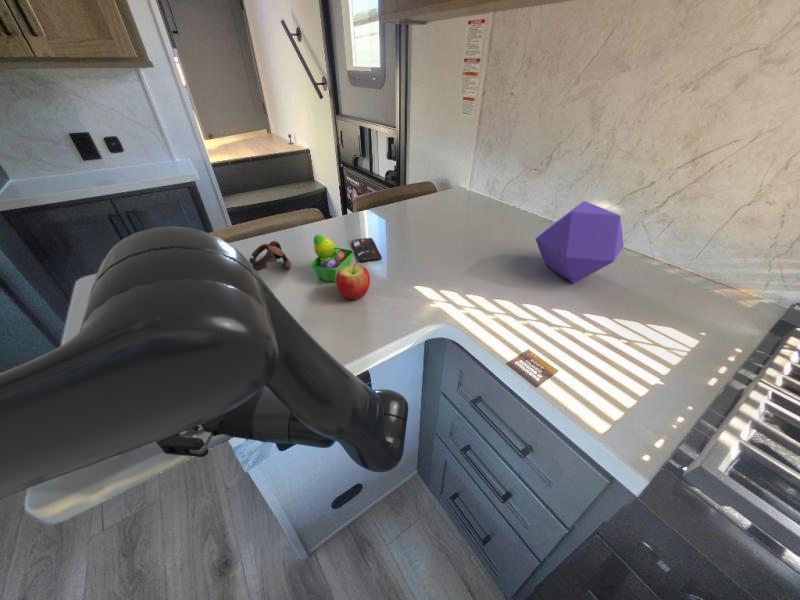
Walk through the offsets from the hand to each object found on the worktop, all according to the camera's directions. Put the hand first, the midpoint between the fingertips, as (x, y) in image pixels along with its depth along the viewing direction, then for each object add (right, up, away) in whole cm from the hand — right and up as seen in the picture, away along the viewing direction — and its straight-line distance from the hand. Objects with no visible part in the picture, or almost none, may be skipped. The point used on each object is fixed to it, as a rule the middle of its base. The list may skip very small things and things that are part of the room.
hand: (166, 398), depth 47 cm
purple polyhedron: (+84, +23, +45) cm, 98 cm away
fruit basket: (+16, +22, +42) cm, 50 cm away
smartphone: (+24, +31, +54) cm, 66 cm away
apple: (+23, +16, +33) cm, 44 cm away
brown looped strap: (-2, +24, +44) cm, 51 cm away
